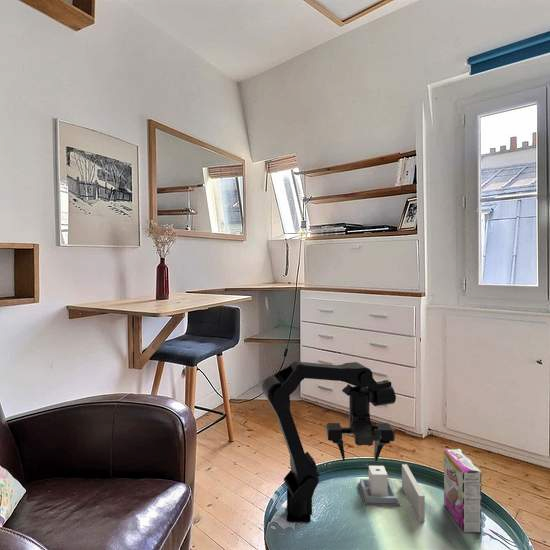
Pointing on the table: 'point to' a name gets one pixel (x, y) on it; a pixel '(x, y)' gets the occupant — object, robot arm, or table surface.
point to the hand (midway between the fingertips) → (359, 460)
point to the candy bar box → (462, 490)
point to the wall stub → (413, 492)
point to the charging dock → (378, 500)
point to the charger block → (378, 481)
